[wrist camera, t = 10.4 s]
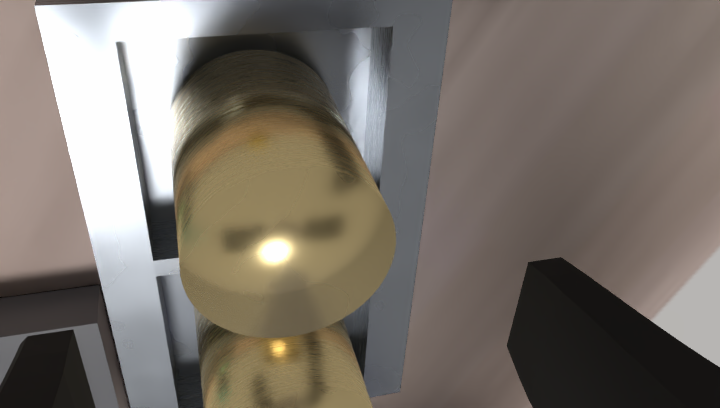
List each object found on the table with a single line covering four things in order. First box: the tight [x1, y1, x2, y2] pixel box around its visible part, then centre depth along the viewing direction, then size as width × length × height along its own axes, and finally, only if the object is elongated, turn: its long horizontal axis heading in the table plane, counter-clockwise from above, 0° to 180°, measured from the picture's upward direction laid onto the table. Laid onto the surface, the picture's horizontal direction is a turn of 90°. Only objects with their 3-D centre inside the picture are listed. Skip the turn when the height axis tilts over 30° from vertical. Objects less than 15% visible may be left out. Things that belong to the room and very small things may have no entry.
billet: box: [168, 50, 396, 338], centre depth 14 cm, size 4×4×5 cm
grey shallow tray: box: [35, 0, 453, 408], centre depth 18 cm, size 13×8×2 cm, turn 177°
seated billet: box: [194, 307, 373, 408], centre depth 18 cm, size 4×4×5 cm
